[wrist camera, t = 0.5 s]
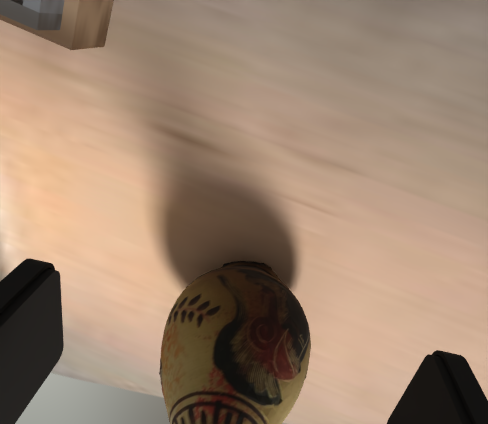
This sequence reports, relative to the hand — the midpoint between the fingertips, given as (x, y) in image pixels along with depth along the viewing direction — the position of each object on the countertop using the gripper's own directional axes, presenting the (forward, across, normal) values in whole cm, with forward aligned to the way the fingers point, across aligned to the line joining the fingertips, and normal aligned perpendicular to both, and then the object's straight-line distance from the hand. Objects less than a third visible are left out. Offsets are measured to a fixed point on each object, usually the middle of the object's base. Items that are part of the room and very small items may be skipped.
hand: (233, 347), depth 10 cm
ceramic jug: (+30, -2, +23) cm, 38 cm away
